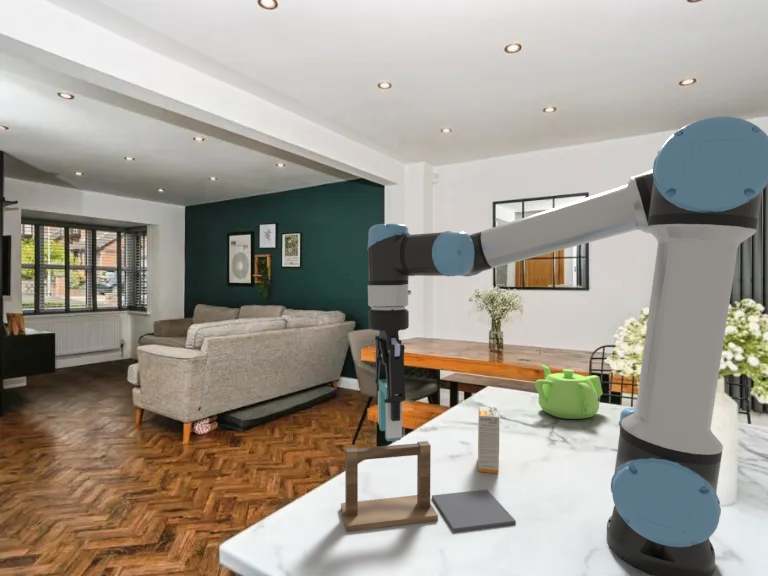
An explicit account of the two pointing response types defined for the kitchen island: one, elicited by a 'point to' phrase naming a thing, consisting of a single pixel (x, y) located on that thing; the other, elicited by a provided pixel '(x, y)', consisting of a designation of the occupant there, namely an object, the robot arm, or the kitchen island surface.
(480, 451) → the supplement box
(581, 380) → the teapot
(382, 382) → the teal u-shaped block
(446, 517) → the coaster
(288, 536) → the kitchen island surface
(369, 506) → the stand
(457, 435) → the kitchen island surface
